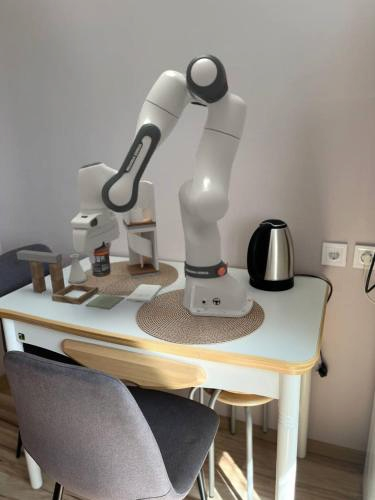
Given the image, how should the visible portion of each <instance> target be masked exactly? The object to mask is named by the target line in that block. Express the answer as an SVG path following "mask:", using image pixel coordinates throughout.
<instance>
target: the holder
mask: <svg viewBox="0 0 375 500" xmlns="http://www.w3.org/2000/svg"><path fill="white" fill-rule="evenodd" d="M62 262H63V261H61V262H59V263H48V268H49V276H50V281H51V282H50V283H51V287H52V288H51V289H52V294H51V300H52V302H57V303H58V302H59V303H65V304H71V305H77V306H80V305H81V304H83V303H85V302H86V301H88V300H89V299H90V298H92V297H94V296H96V295H97V294H98V293H99V291H100V290H99V287H98V286H95V285H94V286H93V285H88V284H87V285H86V284H81V283H70V284H68V285H67V286H66V284H65V279H64V272H63V264H62ZM28 264H29V269H30V274H31V283H32V287H33V293H37V294H42V293H44V292H46V291H47V284H46V279H45V278H46V277H45V271H44V266H43V262H38V261H29V260H28ZM73 291H77V292H84V294H82V295H80V296H78V297H75V296H69V295H68V294H69V293H71V292H73Z"/></svg>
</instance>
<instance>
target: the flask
mask: <svg viewBox="0 0 375 500" xmlns="http://www.w3.org/2000/svg"><path fill="white" fill-rule="evenodd" d="M79 257H80V255H79V253H75V254H70V259H71V266H70V272H69V277H68V281H67V283H69V284H82V283H83V282H85V281H87V280H88V277H87V274H86V273H85V271H84V269H83V266H82V265H81V263H80V260H79Z"/></svg>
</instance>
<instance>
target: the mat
mask: <svg viewBox="0 0 375 500" xmlns="http://www.w3.org/2000/svg"><path fill="white" fill-rule="evenodd" d="M124 299H125V297H124V296H120V295H112V294H104V293H101V294H99V295H97V296H96V297H95V298H93V299H91V300H90V301H88V302H87V303H86V304H85V306H86V307H90V308H97V309H103V310H111V309H113V308H114V307H115V306H116V305H117V304H119V303H120V302H121V301H123V300H124Z"/></svg>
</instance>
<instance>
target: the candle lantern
mask: <svg viewBox="0 0 375 500" xmlns="http://www.w3.org/2000/svg"><path fill="white" fill-rule="evenodd" d="M154 185H155V184H154V183H152V182H151V181H148V180H140V182H139V192H138V199H137V202H136V204H135V206H134V207H133V208H132V209H131V210H129V211H127V212H123V213H121V214H122V226H123V229H124V231H126V238H127V248H128V249H127V250H128V264H126V270H127V272H128V274H129V276H130V278H131V279H132V280H134V279H133V278H135V279H141V278H140V277H142V278H149V277H154V276H153V275H156V276H160V267H159V265H160V264H159V262H160V261H159V248H158V246H159V245H158V234H157V233H158V232H157V218H156V214H157V213H156V203H155V188H154V187H155V186H154ZM148 276H149V277H148Z"/></svg>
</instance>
